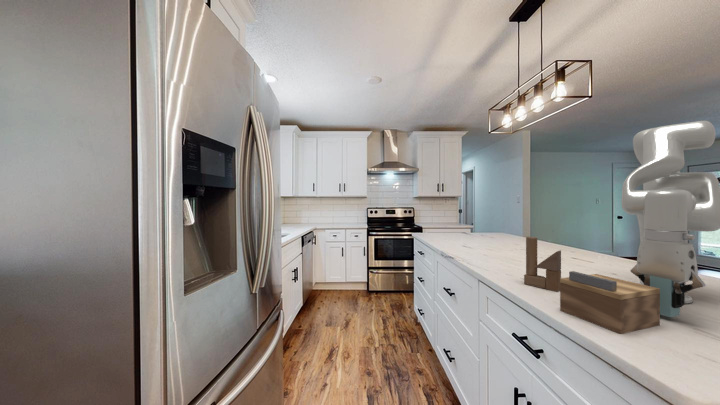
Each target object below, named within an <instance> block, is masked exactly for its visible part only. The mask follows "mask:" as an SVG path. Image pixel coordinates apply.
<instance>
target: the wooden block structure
mask: <svg viewBox="0 0 720 405" xmlns="http://www.w3.org/2000/svg"><path fill="white" fill-rule="evenodd" d="M538 269H542V270H545V275H544V276H543V275H538ZM561 270H562V250H557V251H555V252H554V253H552V254H551V255H550V256H548V257H547V258H546V259H544V260H543V261H540V262H539V263H538V237H537V236H526V237H525V274H523V284H524V285H527V286H532V287H537V288H540V289H544V290H545V289H546V291H547V290H549V291H552V292H556V293H557V292H560V278H562V271H561Z"/></svg>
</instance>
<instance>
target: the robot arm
mask: <svg viewBox="0 0 720 405" xmlns="http://www.w3.org/2000/svg"><path fill="white" fill-rule="evenodd" d="M716 135H717V134H716V129H715V126H714V124H712V122H710V121H708V120H696V121H689V122H684V123H683V122H681V123H676V124H670V125H669V124H668V125H661V126H658V127H651V128H647V129H643V130H641V131H639V132H637V133H636V134H634V136H633V139H632V147H633V152H634V155H635V157H636V159H637V160H638V162H639V164H640V165H639V166H638V167H636V168H635V169H634V170H633V171H631V173H629V174H628V175H627V177H626V178H625V180H623V183H622V187H621V188H622V189H621V207H622V211H623V212H624V213H626V214H628V215H633V216H636V218H637V223H638V227H639V236H640V237H639V238H640V240H639V241H640V243H639V246H638V251H637V258H636V264H635V265H634V266H633V267H632V268H631V269H630V273H631V274H633V275H635V276H636V277H637V278H638V279H639V280H640V283H639V284H642V285H646V286H650V275H652V276H656V277H661V278H666V279H671V280H672V283H673V287H674V292H673V293H672V307H673V308H680V309H681V308H682V307H683V306H684V305H685V304H692V303H693V297H691V296H690V295H688V294H685V293H688V292H690V291H693V290H695V289H700V288H705V287H706V286H707V284H706V283H705V282H704V281H703V279H702V278H701V277H700V276H699V269H698V262H697V257H696V256H697V255H696V252H695V248H694V244H693V243H691V242H689V241H695V240H696V235H695V234H691V233H689V232H708V233H709V232H715V231H718V230H720V182H719V179H718V178H717V176H716V175H715V174H713V173H711V172H706V171H693V172H690V171H689V172H681V170H682V169H683V168H684V166H685V163H686V162H685V154H684V151H688V150H689V151H690V150H699V149H707V148H710V147H711V146H712V145H713V144H714V142H715V140H716ZM641 185H642V189H637V188H638V187H639V186H641ZM688 282H691V283H690V284H687V283H688Z"/></svg>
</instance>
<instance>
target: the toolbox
mask: <svg viewBox="0 0 720 405" xmlns="http://www.w3.org/2000/svg"><path fill="white" fill-rule="evenodd" d="M559 310H560V312H563V313H566V314H569V315H571V316H573V317H576V318H579V319H581V320H583V321H586V322H588V323H592V324H594V325H596V326H599V327H602V328H605V329H607V330H609V331H612V332H615V333H617V334H620V335H622V334H623V335H624V334H626V333H631V332H635V331H640V330H644V329H648V328H653V327H658V326H660V323H661V314H660V294H653V295H647V296H641V297H635V298H630V299H624V300H619V299H615V298H612V297H608V296H605V295H601V294H598V293H595V292H591V291H588V290H584V289H581V288H577V287H574V286H571V285H567V284H564V283H560V291H559Z"/></svg>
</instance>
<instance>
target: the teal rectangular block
mask: <svg viewBox="0 0 720 405" xmlns="http://www.w3.org/2000/svg"><path fill="white" fill-rule="evenodd" d="M650 286H651V287H655V288H659V289H660V293H659V294H660V316H663V317H664V316H665V317H668V318H674V317H677V316H680V315H681V314H680V312H681V307H680V308H673V307H672V293H673V292H674V287H673V283H672V280H671V279H666V278H661V277H656V276H652V275H650Z"/></svg>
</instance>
